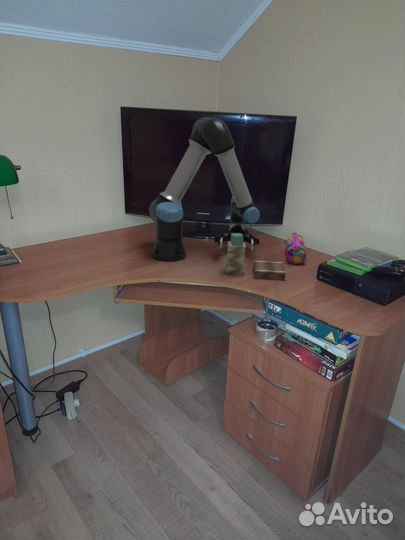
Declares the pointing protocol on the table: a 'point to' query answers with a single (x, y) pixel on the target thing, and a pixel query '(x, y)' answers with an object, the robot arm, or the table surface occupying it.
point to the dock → (269, 270)
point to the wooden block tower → (235, 260)
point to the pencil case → (295, 249)
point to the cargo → (236, 239)
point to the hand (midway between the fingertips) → (236, 246)
